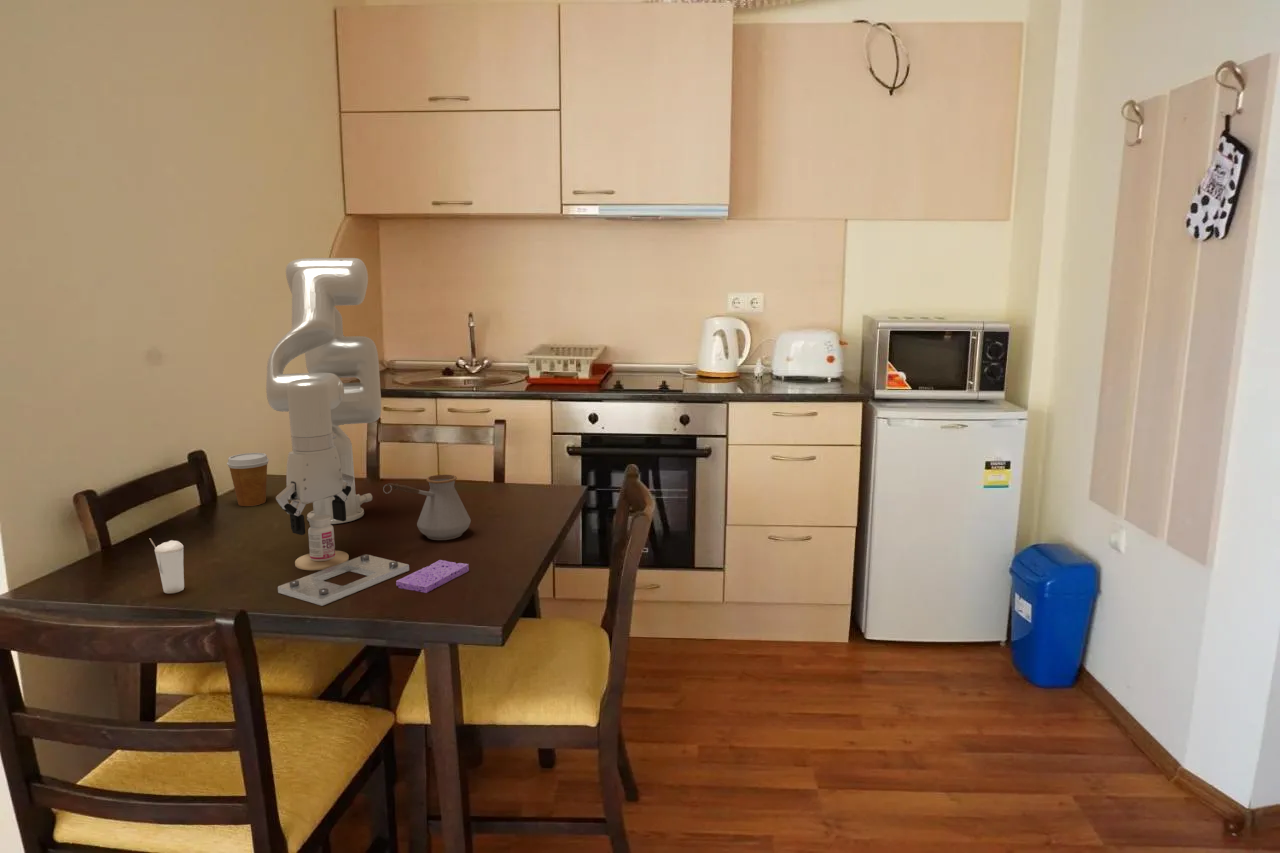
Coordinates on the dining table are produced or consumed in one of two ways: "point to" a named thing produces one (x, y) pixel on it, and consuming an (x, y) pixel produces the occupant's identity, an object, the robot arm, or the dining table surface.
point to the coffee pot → (440, 508)
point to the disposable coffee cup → (249, 477)
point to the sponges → (432, 576)
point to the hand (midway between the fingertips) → (319, 526)
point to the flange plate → (325, 592)
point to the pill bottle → (321, 538)
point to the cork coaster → (308, 564)
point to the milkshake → (170, 565)
